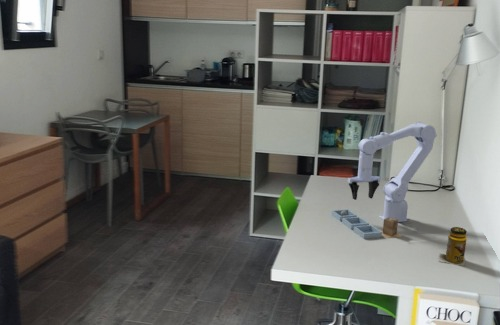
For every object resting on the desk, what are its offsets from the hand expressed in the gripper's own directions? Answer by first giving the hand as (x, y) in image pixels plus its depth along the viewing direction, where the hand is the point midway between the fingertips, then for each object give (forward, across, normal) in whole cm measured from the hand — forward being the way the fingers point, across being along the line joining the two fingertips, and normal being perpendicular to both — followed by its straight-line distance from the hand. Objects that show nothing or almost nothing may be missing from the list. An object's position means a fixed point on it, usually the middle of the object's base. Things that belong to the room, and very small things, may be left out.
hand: (362, 198), depth 218 cm
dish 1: (+10, +6, -4) cm, 12 cm away
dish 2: (+10, +6, +6) cm, 13 cm away
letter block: (+9, -3, +18) cm, 20 cm away
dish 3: (+10, +6, +16) cm, 20 cm away
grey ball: (+9, +6, -4) cm, 12 cm away
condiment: (+10, -12, +44) cm, 47 cm away
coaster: (+10, -3, +18) cm, 21 cm away
